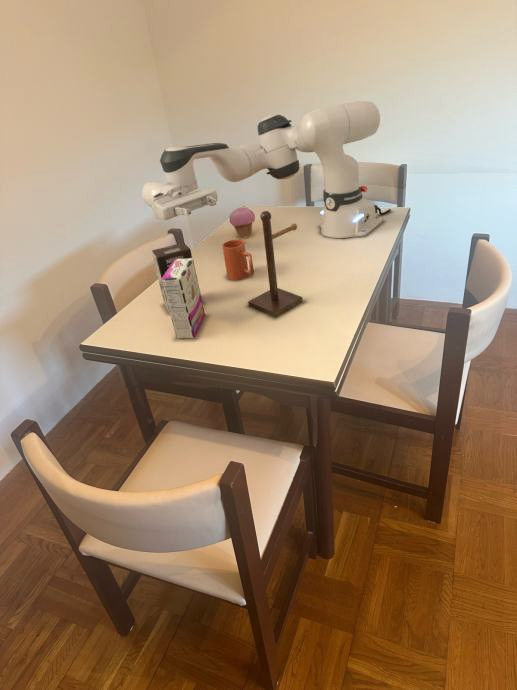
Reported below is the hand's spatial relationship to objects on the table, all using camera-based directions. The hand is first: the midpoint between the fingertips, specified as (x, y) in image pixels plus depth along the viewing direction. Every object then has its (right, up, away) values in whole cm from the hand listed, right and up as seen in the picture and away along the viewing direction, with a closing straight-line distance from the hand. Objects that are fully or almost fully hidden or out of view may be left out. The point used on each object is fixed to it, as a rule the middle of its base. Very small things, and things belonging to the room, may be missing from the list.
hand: (201, 207), depth 142 cm
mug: (+12, -21, 0) cm, 24 cm away
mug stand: (+23, -29, -15) cm, 40 cm away
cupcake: (+12, -2, +29) cm, 31 cm away
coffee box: (-4, -30, -10) cm, 32 cm away
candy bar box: (0, -36, -21) cm, 42 cm away
